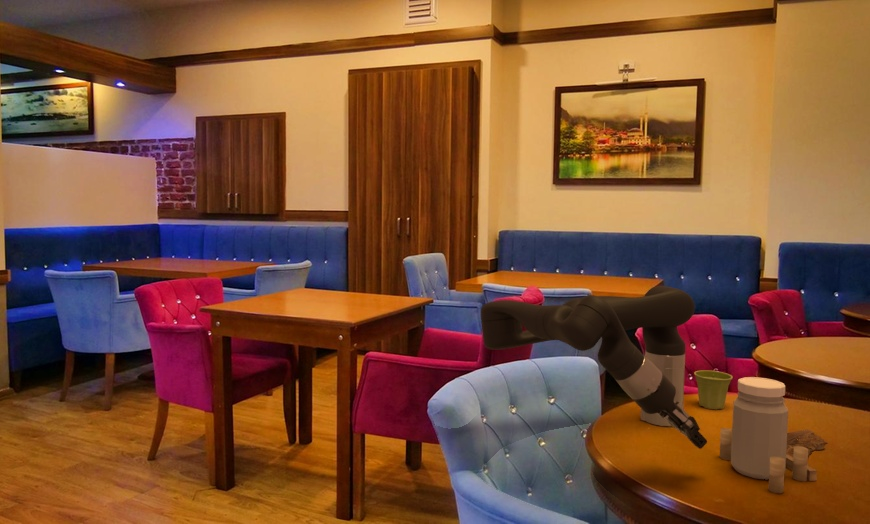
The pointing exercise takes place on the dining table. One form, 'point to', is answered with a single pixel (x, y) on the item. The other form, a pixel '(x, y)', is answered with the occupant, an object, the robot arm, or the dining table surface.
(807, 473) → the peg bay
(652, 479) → the dining table surface
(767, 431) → the jar
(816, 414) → the dining table surface
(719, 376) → the plant pot
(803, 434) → the wooden fragment
